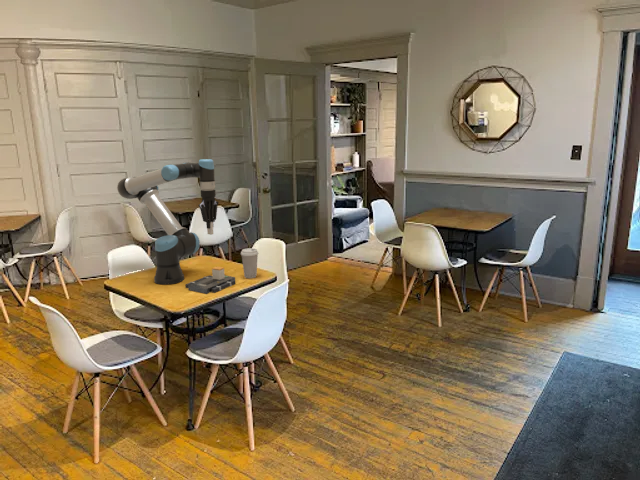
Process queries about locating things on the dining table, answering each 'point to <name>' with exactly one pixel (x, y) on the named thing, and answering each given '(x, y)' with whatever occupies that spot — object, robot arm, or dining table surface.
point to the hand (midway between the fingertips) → (210, 234)
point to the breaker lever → (218, 273)
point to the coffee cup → (249, 262)
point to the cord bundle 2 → (223, 286)
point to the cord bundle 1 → (196, 281)
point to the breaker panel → (208, 284)
